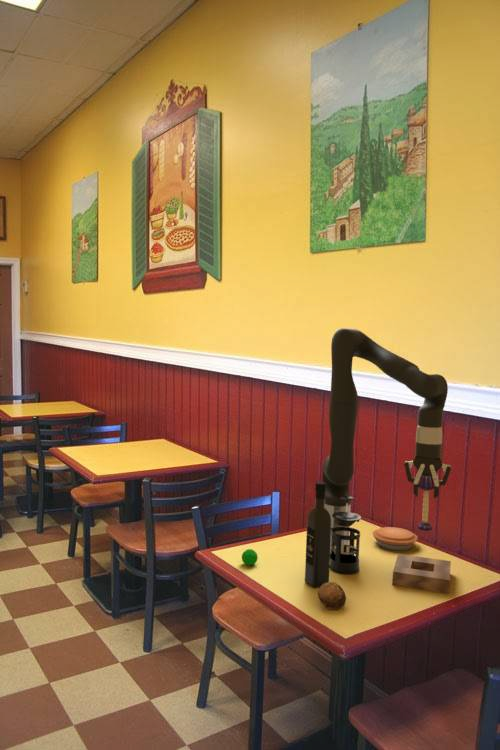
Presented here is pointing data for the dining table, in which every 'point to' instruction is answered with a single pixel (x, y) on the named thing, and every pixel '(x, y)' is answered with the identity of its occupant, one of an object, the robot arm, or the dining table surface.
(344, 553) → the french press
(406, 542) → the pie
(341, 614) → the dining table surface
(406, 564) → the socket block
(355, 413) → the robot arm
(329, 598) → the brown round lump
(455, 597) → the dining table surface
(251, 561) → the green ball
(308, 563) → the wine bottle
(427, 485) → the toy lamp
